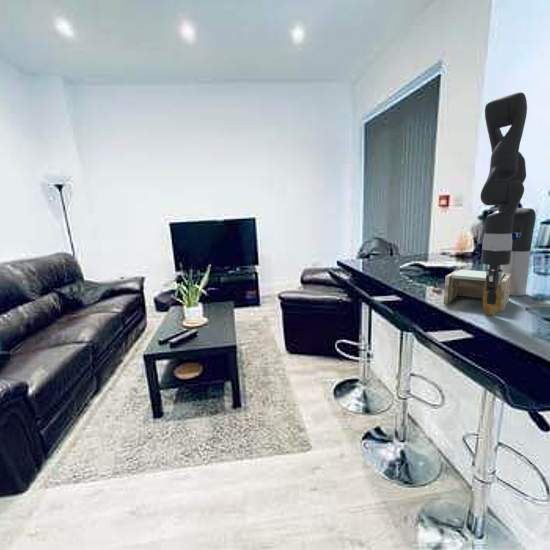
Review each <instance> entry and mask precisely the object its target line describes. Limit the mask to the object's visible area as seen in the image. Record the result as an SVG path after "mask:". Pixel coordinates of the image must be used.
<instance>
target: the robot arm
mask: <svg viewBox="0 0 550 550" xmlns="http://www.w3.org/2000/svg"><path fill="white" fill-rule="evenodd" d="M527 114H528V100H527V96H526V94H525V93H524V92H520V91H519V92H516V93H512V94H508V95H505V96H502V97H498V98H495V99H492V100H489V101H488V102H487V103H486V104H485V107H484V118H485V119H484V120H485V123H486V124H485V125H486V128H487V133H488V138H489V142H490V148H491V149H490V150H491V155H490V157H491V158H490V162H489V163H490V165H489V173H488V177H487V179H486V181H485V183H484V184H483V187H482V189H481V192H480V200H481V203H482V204H483V205H485V206H489V207H490V206H498V212H494V213H490V214H488V215H486V217H485V222H484V234H483V239H482V247H481V256H480V257H481V258H480V260H481V264H485V265H489V266H488V268H487V269H486V270H485V271H486V275H487V276H486V291H487V292H488V294H487V304H492V305H494V304H495V302H496V293H497V286H498V285H499V284H500V283H501V276H502V274H503V273H506V274H511V282H510V292H509V296H514V297H516V296H520V297H521V296H526V295H527V289H528V288H527V285H528V277H529V269H530V268H529V267H530V260H531V259H530V258H531V251H532V250H531V249H532V243H533V235H534V230H535V226H536V225H535V224H536V216H537V215H536V214H537V213H536V211H535V210H534V208H527V207H526V208H518V206H520V205H519V204H520V202H521V200H522V198H523V196H524V192H525V186H524V182H525V181H526V178H527V168H526V158H524V155H523V154H522V153H521V152H520V146H521V141H522V138H523V135H524V134H523V133H524V128H525V124H526V120H527ZM509 126H510V127H509ZM505 127H509V129H508V130H507V132H506V133H505V135H503V133H502V130H501V128H505ZM518 233H520V234H519V236H518V237H517V238H515V239H513V234H518ZM496 282H497V283H496ZM490 286H493V287H494V288H491V287H490Z"/></svg>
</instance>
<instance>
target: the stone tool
mask: <svg viewBox="0 0 550 550" xmlns="http://www.w3.org/2000/svg"><path fill="white" fill-rule="evenodd" d="M496 283H497V282H496ZM490 287H491V288H494V287H493V286H490ZM487 294H488V292H487V291H486V282H485V285H484V289H483V298H482V306H483V309H484V313H485V314H486V315H488V316H494V315H495V314H496V313H497V312H500V311H499V310H500V307H501V299H502V289H501V283H500V284H499V285H498V286H497V293H496V302H495V304H494V305H492V304H487Z"/></svg>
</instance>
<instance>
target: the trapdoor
mask: <svg viewBox="0 0 550 550" xmlns="http://www.w3.org/2000/svg"><path fill="white" fill-rule="evenodd" d="M459 270H460V271H458V272H456V273H455V274H453V275H452V278H458V279H469V280H481V281H486V276H487V275H486V270H485V271H484V270H474V269H473V270H472V269H459ZM503 276H504V273H503V274H502V276H501V279H502V278H503Z"/></svg>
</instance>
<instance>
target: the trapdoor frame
mask: <svg viewBox="0 0 550 550" xmlns="http://www.w3.org/2000/svg"><path fill="white" fill-rule="evenodd" d="M460 270H461V269H455V270H453V271H452V272H450V273H449V274H447V275H445V276H444V277H445V280H444V291H443V292H444V293H443V304H444V305H448V304H449V303H450V302H452V301H453V300H454V299H455V298H457V297H458V296H461V297H469V298H477V299H478V298H479V299H483V289H484V285H485V282H486V281H481V280H469V279H458V278H452V275H453V274H455V273H456V272H458V271H460ZM510 282H511V274H506V273H504V276H503V278H502V279H501V289H502V299H501V307H500V310H499V311H498V312H503V311H504V310H505V308H506V306H507V304H508V302H509V301H510V300H509V299H510V295H509V292H510Z"/></svg>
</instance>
